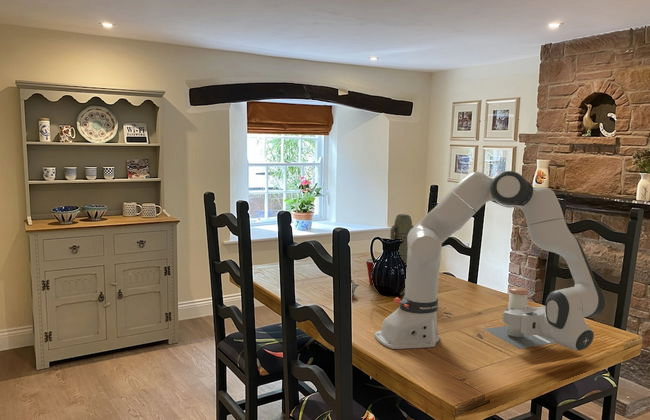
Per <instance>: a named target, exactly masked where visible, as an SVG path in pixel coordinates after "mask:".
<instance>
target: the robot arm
mask: <svg viewBox="0 0 650 420" xmlns="http://www.w3.org/2000/svg"><path fill="white" fill-rule="evenodd" d="M488 202H493V203H495V204H497V205H499V206H502V207H504V208H519V209H520V210H521V211H522V213H523V215H524V218H525V222H526V226H527V231H528V235H529V237H530V239H531V241H532V243H533V244H534V245H535V246H537V247H538V248H539V249H541V250H543V251H547V252H550V253H555V254H556V255H559V256H561V257H562V258H563V260H565V262H566V264H567V267H568V268H569V271H570V274H571V277H572V279H573V281H574V286H571V287H567V288H566V287H565V288H562V289H557V290H553V291H551V292H549V294H547V297H546V299H545V306H543V305H542V306H537V307H535V306H529V305H527V308H526V309H517V310H512V308H510V307H508V306H507V307H505V310H504V311H503V314H502V321H503V323H504V324H505V325H506V326H507V325H509V326H511V327H513V328H515V329H518V330H521V333H523V334H526V335H538V336H544V337H546V338H548V339H552V340H554V341H555V342H556V343H555V344H557V345H559V346H563V348H567V349H570V350H572V351H577V352H578V351H583V350H586V349H587V348H589V347H590V346H591V344H592V343H593V341H594V337H595V334H594V331H593V330H592V328H590V327H589V326H588V324H587V322H586V320H585V318H586V317H587V318H588V317H597V316H598V315H599V316H600V315H601V313H603V311H604V309H605V307H606V297H605V294H604V292H603V290H602V289H601V287H600V286H599V284H598V283H597V281H596V278H595V276H594V273H593V271H592V268H591V266H590V264H589V261H588V258H587V256H586V253H585V251H584V249H583V246H582V244H581V243H580V241H579V239H578V238H577V237H576V235H575V236H574V235H573V234H572V233H571V230H569V227H568V225H567V223H566V219H565V215H564V212H563V210H562V207H561V204H560V202H559V199H558V197H557V196H556V193H555V191H554V190H553V189H551V188H549V187H543V186H541V187H533V185H532V184H531V183H530V182H529V181H528V180H527V179H526V178H525V177H524V176H523V175H522V174H520V173H519V172H516V171H514V170H513V171H512V170H507V171H502V172H499V173H498V174H497V175H496V176H495V177H493V178H491V177H489V176H488V175H486V174H485V173H483V172H481V171H472V172H470V173H469V174H467V175H466V176H465V177H464V178H462V179H461V180H460V181H459V182H457V184H455V185H454V186H453V188H451V190H449V192H448V193H447V194H445V196H444V197H443V198H442V199H441V200H440V201H439V203H437V204H436V205H435V206H434V208H432V209H431V210H430V211H429V212H427V214H425V215H424V216H423V217H422V218H421V219H420V220H419V221H418V222H417V223H416V224H415V225H413V226H414V227H413V228H412V229H411V230H410V231H409V233H408V236H407V245H408V252H407V267H406V279H405V295H403V297H402V299H401V298H399V297H398V296H397V297H395V298H394V299H393V301H394V303H396V304H397V305H399V307H398V308H396V309H395V310H394V311H392V313H389V315H388V316H387V317H385V318H384V320H383V322H382V326H381V329H380V330H377V331H375V332H374V338H375V339H376V340H377V342H379V343H380V344H381V345H383V346H384V347H387V348H389V349H393V350H401V349H402V350H403V349H423V348H434V347H436V346H437V343H438V342H439V341H440V334H439V330H438V320H437V312H438V309H439V299H438V288H439V287H438V285H439V275H440V267H441V259H442V249H443V243H444V242H445V241H446V240H447V239H448V238H450V237H451V236H452V235H453V234H455V233H457V232H458V231H460V230H461V229H462V228H463V226H465V224H467V223H468V221H470V219H471V218H472V217H473V216H475V214H476V213H477V212H478V211H479V210H480V209H481V208H482V207H483V206H484V205H486V203H488Z"/></svg>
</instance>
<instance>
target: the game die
mask: <svg viewBox="0 0 650 420" xmlns="http://www.w3.org/2000/svg"><path fill="white" fill-rule="evenodd" d="M350 277H351V283H352V296H355V292H356V290H357V287H358V286H360V285H359V284H357V283H356V282H355V281H354V280H353V279H352V277H353V276H350Z"/></svg>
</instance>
